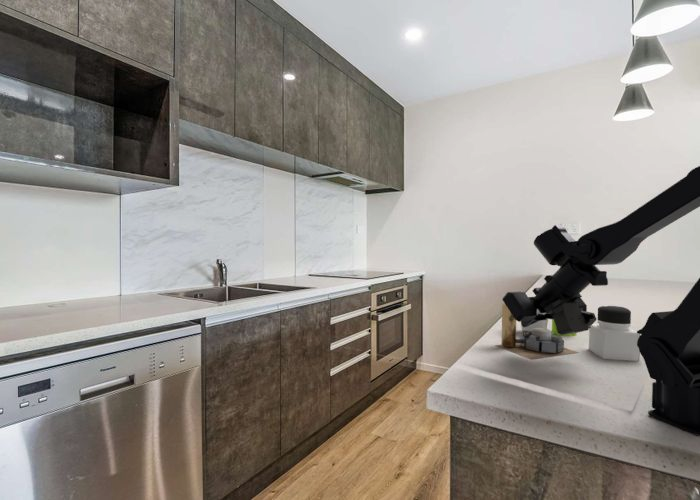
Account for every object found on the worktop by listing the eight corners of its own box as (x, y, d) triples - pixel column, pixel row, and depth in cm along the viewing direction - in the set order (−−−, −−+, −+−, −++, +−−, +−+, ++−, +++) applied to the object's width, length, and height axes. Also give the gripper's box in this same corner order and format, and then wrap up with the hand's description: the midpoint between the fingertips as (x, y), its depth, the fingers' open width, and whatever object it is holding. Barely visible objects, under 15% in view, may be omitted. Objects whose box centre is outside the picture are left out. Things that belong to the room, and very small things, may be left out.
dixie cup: (521, 340, 95) (521, 303, 95) (514, 332, 104) (514, 298, 103) (555, 342, 94) (556, 304, 93) (545, 334, 102) (545, 299, 101)
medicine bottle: (640, 365, 76) (641, 310, 76) (603, 363, 78) (604, 309, 77) (621, 355, 83) (623, 304, 83) (588, 353, 85) (589, 303, 84)
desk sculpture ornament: (569, 353, 80) (570, 309, 80) (506, 350, 82) (507, 307, 82) (553, 342, 89) (554, 303, 88) (497, 340, 91) (497, 301, 90)
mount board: (579, 356, 82) (579, 333, 82) (531, 364, 77) (531, 339, 77) (539, 343, 92) (539, 323, 92) (494, 349, 87) (495, 327, 87)
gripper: (558, 319, 62) (510, 362, 73) (628, 312, 69) (575, 352, 79) (522, 272, 70) (483, 317, 80) (589, 270, 76) (545, 311, 87)
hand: (523, 325), depth 81 cm, fingers closed
